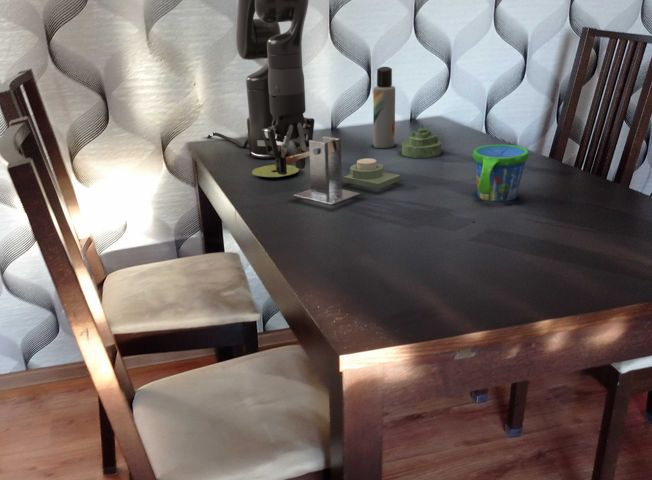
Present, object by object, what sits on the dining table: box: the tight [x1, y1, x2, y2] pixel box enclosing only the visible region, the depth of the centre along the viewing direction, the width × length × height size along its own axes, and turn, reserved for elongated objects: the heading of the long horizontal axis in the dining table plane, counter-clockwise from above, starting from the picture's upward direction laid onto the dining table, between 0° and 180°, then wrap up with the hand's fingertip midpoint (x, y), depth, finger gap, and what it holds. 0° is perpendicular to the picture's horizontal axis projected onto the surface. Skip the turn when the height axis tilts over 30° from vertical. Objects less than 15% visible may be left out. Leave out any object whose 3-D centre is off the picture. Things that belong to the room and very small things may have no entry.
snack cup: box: [472, 144, 530, 202], centre depth 142 cm, size 16×10×10 cm
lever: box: [285, 140, 335, 165], centre depth 149 cm, size 13×5×2 cm, turn 48°
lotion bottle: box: [372, 66, 396, 149], centre depth 185 cm, size 6×6×20 cm
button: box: [356, 158, 378, 170], centre depth 157 cm, size 4×4×2 cm
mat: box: [251, 164, 300, 178], centre depth 167 cm, size 11×11×2 cm
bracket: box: [293, 135, 361, 207], centre depth 147 cm, size 11×9×13 cm
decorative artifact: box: [401, 124, 442, 159], centre depth 179 cm, size 10×7×10 cm
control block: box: [343, 163, 402, 190], centre depth 157 cm, size 10×8×4 cm
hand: (291, 170), depth 154 cm, fingers closed on lever, 5 cm apart
